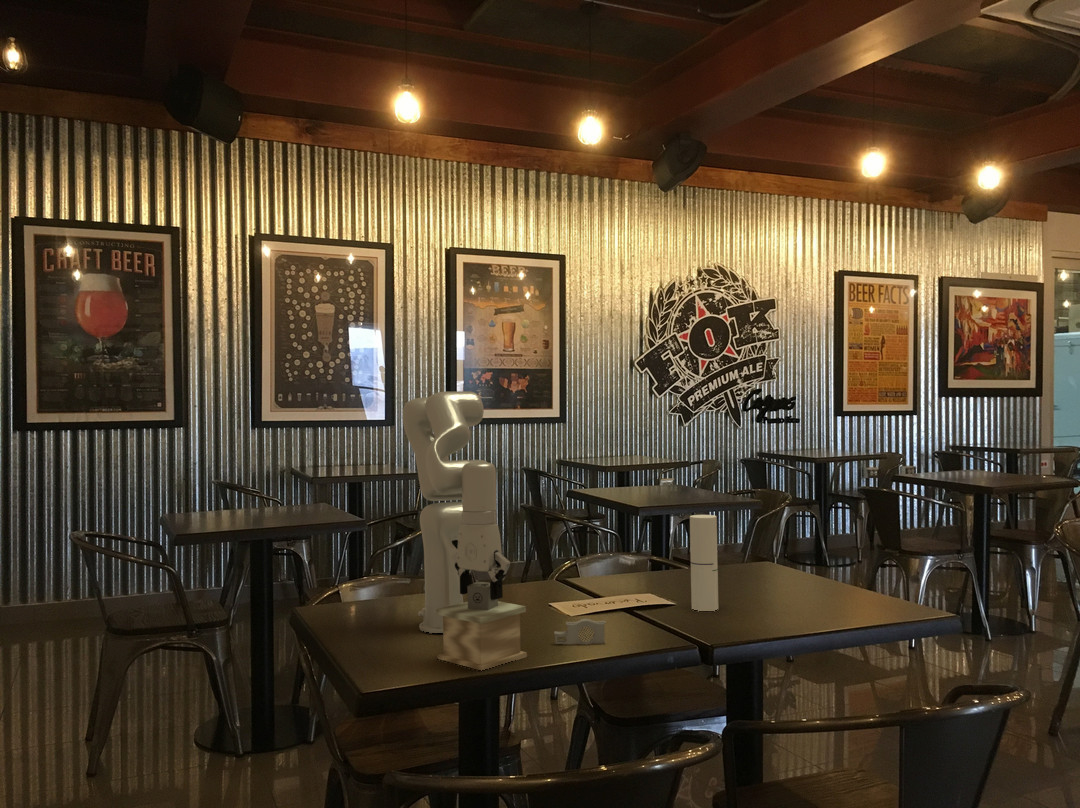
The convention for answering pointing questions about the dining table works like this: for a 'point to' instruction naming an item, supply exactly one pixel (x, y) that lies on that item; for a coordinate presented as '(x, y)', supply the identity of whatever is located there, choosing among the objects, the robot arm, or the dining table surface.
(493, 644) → the display pedestal
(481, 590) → the gray face cube
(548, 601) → the dining table surface
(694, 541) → the cylindrical container
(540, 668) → the dining table surface
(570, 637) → the garden wall model
